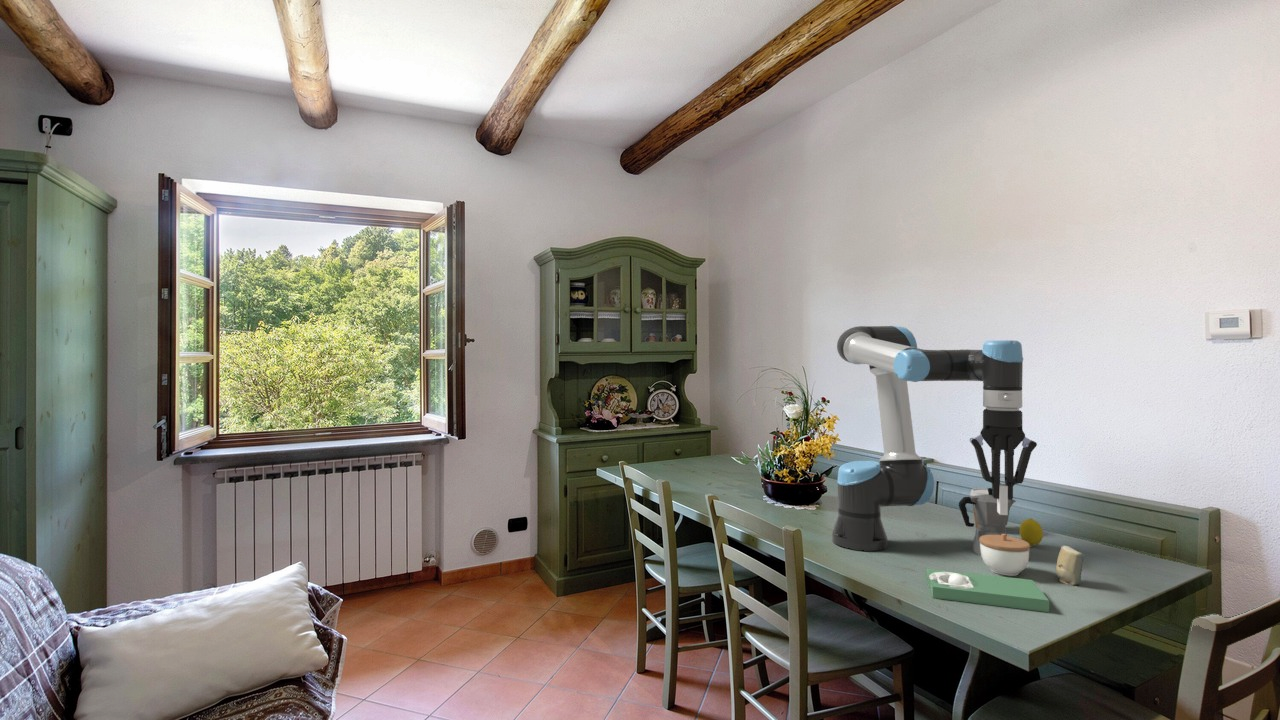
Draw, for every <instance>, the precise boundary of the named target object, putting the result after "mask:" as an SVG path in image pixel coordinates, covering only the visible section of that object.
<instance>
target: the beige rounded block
mask: <svg viewBox="0 0 1280 720" xmlns="http://www.w3.org/2000/svg"><path fill="white" fill-rule="evenodd" d="M1084 557H1085V556H1084V554H1083V553H1082V552H1080V551H1077V550H1076V549H1074V548H1073V547H1071V546H1068V545H1062V546H1061V547H1060V550H1059V553H1058V556H1057V562H1056V566H1055V573H1056V575H1057V576H1058V579H1059V582H1060V583H1062V584H1066V585H1070V586H1071V587H1080V585H1081V579H1082V572H1083V571H1082V570H1083V563H1084Z"/></svg>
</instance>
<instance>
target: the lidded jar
mask: <svg viewBox="0 0 1280 720" xmlns="http://www.w3.org/2000/svg"><path fill="white" fill-rule="evenodd" d="M979 541H980V551H981V559H982V560H983V562H984V564H985V565H986V566H987V567H988V568H989V570H990V571H991V572H992V573H995V574H997V575H1001V576H1005V577H1015V576H1018V575H1020V573H1022V572H1023V571H1024V570H1025V569H1026V567H1027V566H1028V563H1029V558H1030V547H1031V546H1030V545H1029V543H1028V542H1026V541H1024V540H1022V538H1018V537H1014V536H1009V535H1007V536H1006V534H1002V535H983V536H981V537H980V538H979Z"/></svg>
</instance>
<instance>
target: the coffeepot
mask: <svg viewBox="0 0 1280 720" xmlns="http://www.w3.org/2000/svg"><path fill="white" fill-rule="evenodd" d="M987 489H988V493H989V494H987V495H978V496H972V497H971V496H963V497H962V498H961V499H960V501H958V508H959V511H960V514H961V516H962V520H963V521H964V524H965V526H966V527H968V528H969V527H970V528H974V526H975V522H974V523H971V522H970V516H969V513H968V509H967V506H966V505H967V504H969V505H972V506H973V505H974V511H975V517H976V521H977V528H976V527H975V534H974V537H973V545H972V551H973V553H974V552H975V553H974V554H976V555H978V554H979V555H978V556H980V555H981V551H980V541H979V538H980V537H981V536H983V535H1002V534H1006V536H1008V533H1007V530H1006V529H1007V528H1006V526H1008V523H1009V517H1010V516H1009V515H1010V511H1011V510H1010V509H1011V507H1012V506H1013V505H1014V503H1016V499H1012V500H1008V515H1000V514H999V513H998V512H997V499H994V498H993V496H992V487H988V488H987ZM974 511H973V512H974Z"/></svg>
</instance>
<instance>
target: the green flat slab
mask: <svg viewBox="0 0 1280 720" xmlns="http://www.w3.org/2000/svg"><path fill="white" fill-rule="evenodd" d="M925 570H926V571H925V572H926V575H925V576H926V582H927V585H928V588H929V590H930V591H929V592H930V594H931V596H932V599H938V600H948V601H954V602H962V603H970V604H971V603H972V604H980V605H988V606H995V607H1004V608H1013V609H1021V610H1028V611H1029V610H1030V611H1034V612H1035V611H1037V612H1043V613H1049V612H1050V600H1049V598H1048V597H1047V596H1046V595H1045V594H1044V592H1043V591H1042V590H1041V589H1040V587H1038V585H1037V583H1035V582H1034V580H1033V579H1027V578H1018V577H1017V578H1016V577H1010V576H998V575H990V574H989V575H988V574H979V573H973V572H961V571H955V570H954V571H952V570H941V569H933V568H926V569H925ZM952 574H961V575H963V576H964V577H965V578H966V579H967V581H968V584H966V585H954V584H949V583H948V579H949V577H950V576H951V575H952Z"/></svg>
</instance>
